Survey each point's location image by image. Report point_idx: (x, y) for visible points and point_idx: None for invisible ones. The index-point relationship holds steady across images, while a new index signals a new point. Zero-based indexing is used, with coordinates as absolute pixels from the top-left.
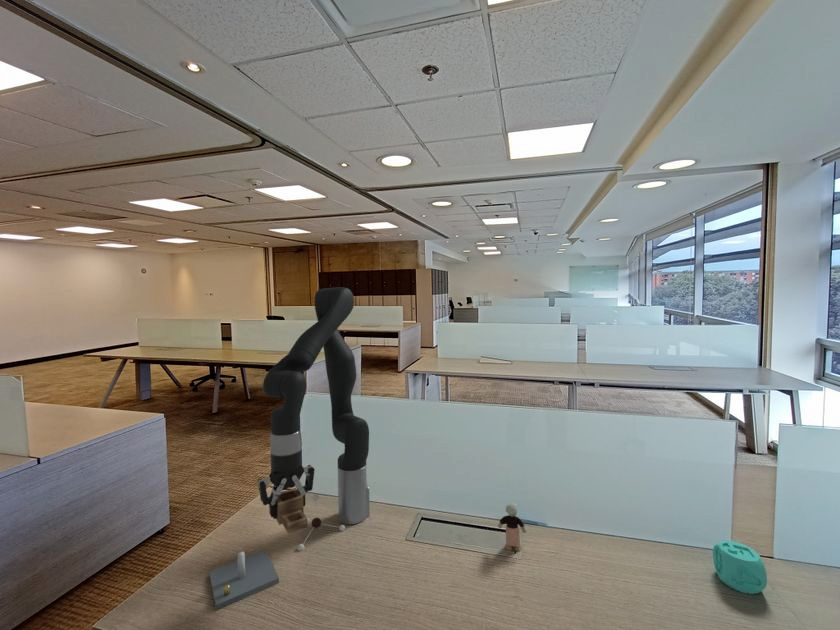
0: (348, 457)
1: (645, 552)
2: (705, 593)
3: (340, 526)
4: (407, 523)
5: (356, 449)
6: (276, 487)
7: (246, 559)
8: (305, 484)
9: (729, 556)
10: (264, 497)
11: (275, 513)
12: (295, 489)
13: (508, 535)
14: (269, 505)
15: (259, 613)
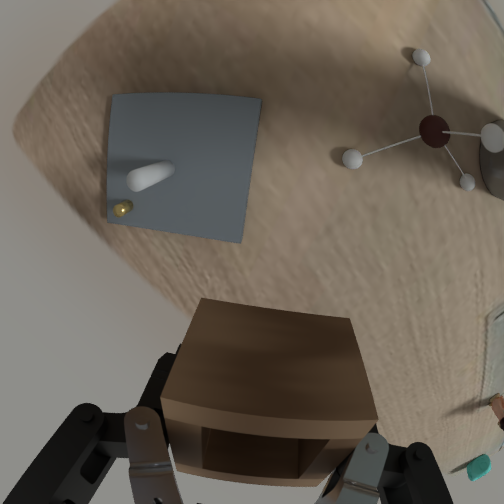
0: None
1: (497, 435)
2: (463, 462)
3: (467, 182)
4: None
5: None
6: (166, 500)
7: (197, 102)
8: (404, 471)
9: (476, 477)
10: (87, 472)
11: None
12: (354, 436)
13: (498, 410)
14: (142, 399)
15: (179, 288)
